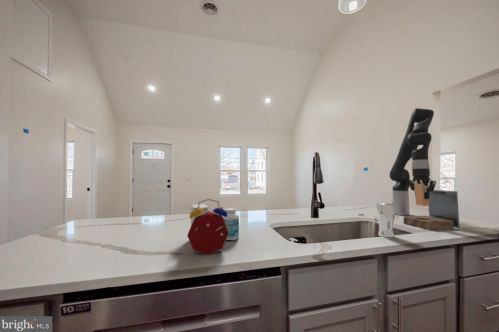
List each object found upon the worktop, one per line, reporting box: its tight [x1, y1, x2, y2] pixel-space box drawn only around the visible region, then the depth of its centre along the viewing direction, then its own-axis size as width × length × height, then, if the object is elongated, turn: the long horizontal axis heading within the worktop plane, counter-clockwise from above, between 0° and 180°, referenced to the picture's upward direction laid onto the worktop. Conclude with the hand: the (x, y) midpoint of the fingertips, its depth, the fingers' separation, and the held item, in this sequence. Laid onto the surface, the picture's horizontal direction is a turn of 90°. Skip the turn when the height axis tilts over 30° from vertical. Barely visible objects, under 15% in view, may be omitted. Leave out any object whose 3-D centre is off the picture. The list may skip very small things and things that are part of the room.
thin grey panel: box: [428, 189, 460, 229], centre depth 113 cm, size 14×8×20 cm, turn 12°
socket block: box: [403, 215, 455, 231], centre depth 111 cm, size 14×16×4 cm
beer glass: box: [376, 202, 395, 239], centre depth 94 cm, size 7×7×15 cm
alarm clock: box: [187, 198, 229, 255], centre depth 74 cm, size 15×9×20 cm, turn 98°
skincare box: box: [190, 203, 209, 226], centre depth 88 cm, size 8×7×16 cm
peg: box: [414, 183, 429, 207], centre depth 111 cm, size 4×4×12 cm
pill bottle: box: [223, 207, 240, 241], centre depth 91 cm, size 8×7×14 cm
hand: (422, 198), depth 111 cm, fingers closed on peg, 4 cm apart
